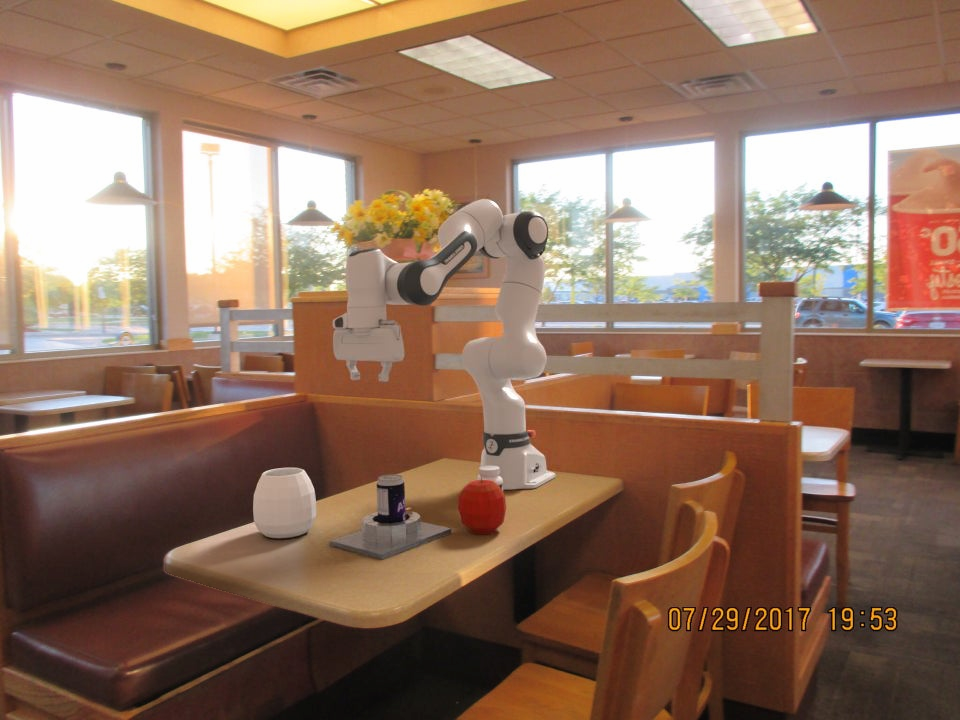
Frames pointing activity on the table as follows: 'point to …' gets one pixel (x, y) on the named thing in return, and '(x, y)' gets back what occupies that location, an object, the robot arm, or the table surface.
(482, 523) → the apple
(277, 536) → the cup
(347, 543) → the hub plate
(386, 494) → the beverage can
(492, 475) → the pill bottle
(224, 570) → the table surface
